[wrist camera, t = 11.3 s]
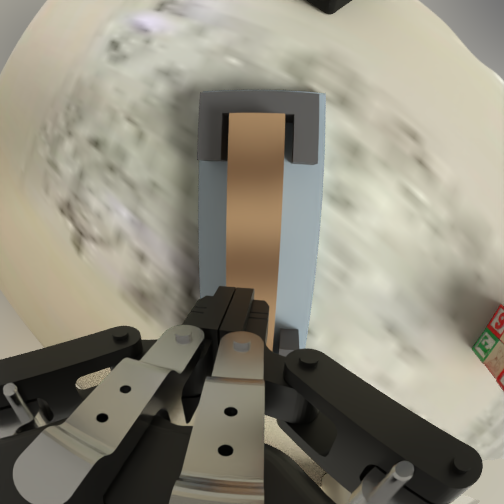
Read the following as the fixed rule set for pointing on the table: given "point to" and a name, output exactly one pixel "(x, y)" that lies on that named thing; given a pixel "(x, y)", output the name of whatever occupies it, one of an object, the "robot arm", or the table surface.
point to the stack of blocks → (493, 346)
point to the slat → (255, 205)
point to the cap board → (293, 204)
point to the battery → (329, 5)
